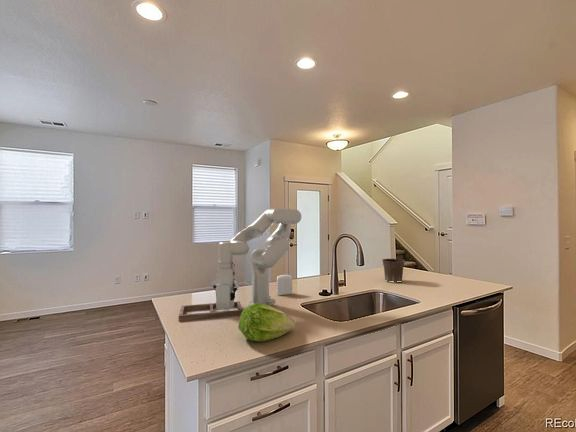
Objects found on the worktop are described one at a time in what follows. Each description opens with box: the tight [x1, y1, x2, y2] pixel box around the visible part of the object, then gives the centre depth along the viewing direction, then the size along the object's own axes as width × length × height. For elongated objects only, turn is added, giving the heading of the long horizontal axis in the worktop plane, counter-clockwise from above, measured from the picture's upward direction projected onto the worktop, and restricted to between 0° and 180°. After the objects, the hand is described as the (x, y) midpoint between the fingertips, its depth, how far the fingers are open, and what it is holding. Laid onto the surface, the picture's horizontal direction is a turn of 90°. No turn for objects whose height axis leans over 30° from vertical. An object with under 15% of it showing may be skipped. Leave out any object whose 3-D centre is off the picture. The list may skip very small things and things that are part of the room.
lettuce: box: [238, 303, 296, 342], centre depth 123 cm, size 15×24×16 cm
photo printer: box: [276, 274, 293, 296], centre depth 188 cm, size 10×4×12 cm, turn 107°
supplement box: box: [215, 284, 235, 311], centre depth 154 cm, size 7×7×13 cm
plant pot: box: [381, 258, 405, 282], centre depth 224 cm, size 16×16×16 cm
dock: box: [178, 301, 244, 322], centre depth 152 cm, size 16×30×2 cm, turn 105°
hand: (225, 298), depth 154 cm, fingers closed on supplement box, 8 cm apart
